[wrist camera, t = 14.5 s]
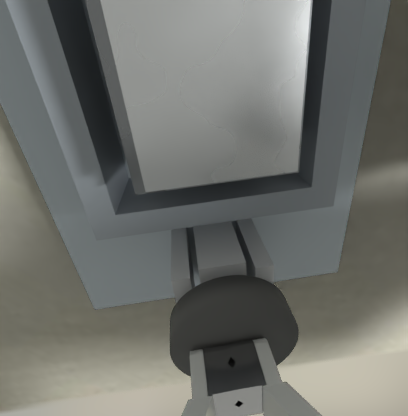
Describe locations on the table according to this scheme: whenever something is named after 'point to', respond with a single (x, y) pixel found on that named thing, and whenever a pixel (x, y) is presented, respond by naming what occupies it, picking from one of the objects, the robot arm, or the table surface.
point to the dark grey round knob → (231, 318)
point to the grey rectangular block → (205, 87)
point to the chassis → (194, 196)
